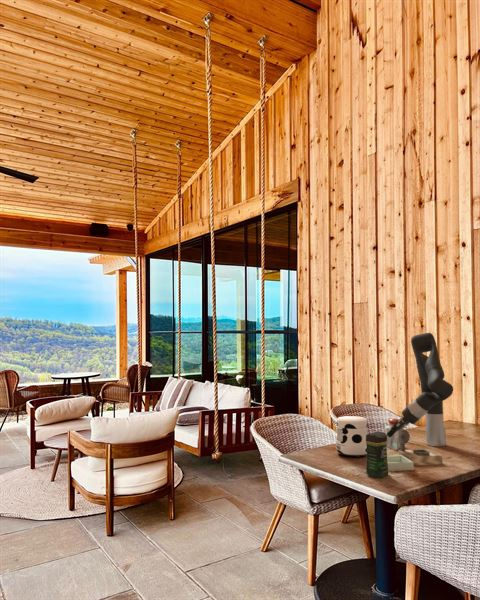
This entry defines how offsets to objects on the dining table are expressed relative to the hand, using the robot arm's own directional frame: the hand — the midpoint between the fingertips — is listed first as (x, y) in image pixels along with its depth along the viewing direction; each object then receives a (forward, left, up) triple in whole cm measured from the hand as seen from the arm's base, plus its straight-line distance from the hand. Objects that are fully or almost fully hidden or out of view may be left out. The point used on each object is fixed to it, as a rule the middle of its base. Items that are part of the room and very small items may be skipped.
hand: (390, 434), depth 215 cm
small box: (-16, -34, -15) cm, 40 cm away
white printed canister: (+11, -22, -15) cm, 28 cm away
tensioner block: (-16, -5, -14) cm, 22 cm away
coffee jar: (+12, +12, -14) cm, 22 cm away
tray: (-1, +1, -14) cm, 14 cm away
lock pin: (-1, +1, -6) cm, 6 cm away
